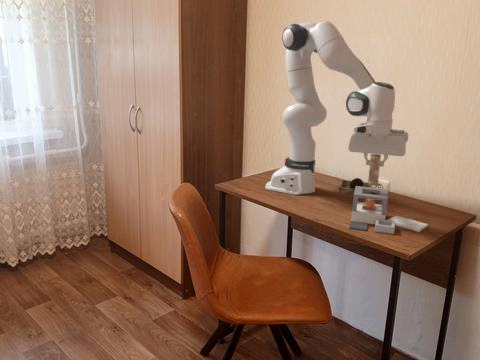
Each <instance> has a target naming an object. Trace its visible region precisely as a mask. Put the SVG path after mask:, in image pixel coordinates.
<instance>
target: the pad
mask: <svg viewBox="0 0 480 360" xmlns="http://www.w3.org/2000/svg"><path fill="white" fill-rule="evenodd" d="M349 229H350V230H356V231H363V232H364V231H365V232H367V230H368V223H360V222H353V221H350V223H349Z"/></svg>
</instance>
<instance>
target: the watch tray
mask: <svg viewBox="0 0 480 360" xmlns="http://www.w3.org/2000/svg"><path fill="white" fill-rule="evenodd" d="M351 181H352V180H351V179H350V180H346V179H340V182H339V185H338V188H337V193H338V194H345V195H353V196H354V192H355V189H353V188H347V187H350V182H351ZM363 183H364V185H363V187H370V188H372V185H368V181H367V182H366V181H363ZM344 186H345V187H344ZM362 193H364V194H371V193H372V192H366V191H362Z"/></svg>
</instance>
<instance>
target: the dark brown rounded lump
mask: <svg viewBox="0 0 480 360" xmlns="http://www.w3.org/2000/svg"><path fill="white" fill-rule="evenodd" d="M350 181H351V182H350V186H346V188H353V189H355V187H356V186H361V187H363V185H364V183H363V182H364V181H363V180H362V179H361V178H360V177H356V178H353V179H352V180H350Z"/></svg>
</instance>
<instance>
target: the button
mask: <svg viewBox="0 0 480 360" xmlns="http://www.w3.org/2000/svg"><path fill="white" fill-rule="evenodd" d="M364 203H365V206H364V208H365V209H368V210H374V206H375V204H376V200H374V199H366V198H364Z"/></svg>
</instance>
